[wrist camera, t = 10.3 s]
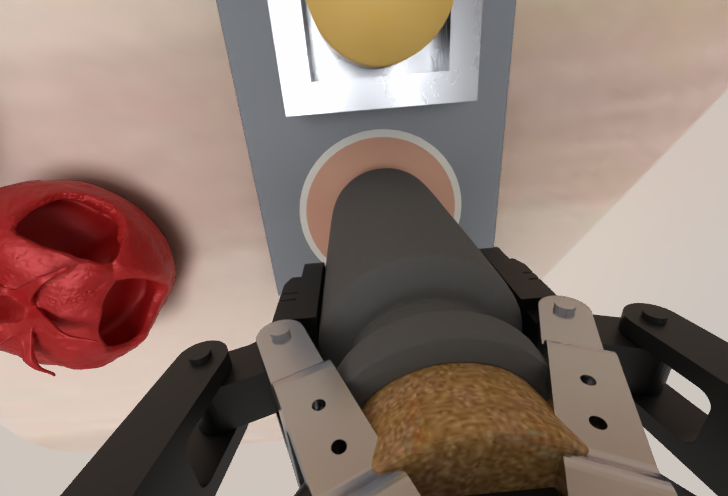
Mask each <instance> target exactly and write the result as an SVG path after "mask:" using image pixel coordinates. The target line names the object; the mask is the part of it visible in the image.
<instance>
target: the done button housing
mask: <svg viewBox="0 0 728 496" xmlns="http://www.w3.org/2000/svg"><path fill="white" fill-rule="evenodd" d="M267 1H268V7H269V14H270V20H271V26H272V32H273V39H274V45H275V51H276V57H277V64H278V70H279V76H280V82H281V89H282V95H283V101H284V107H285V114H286V117H287V116H299V115H311V114H323V113H335V112H347V111H359V110H371V109H383V108H394V107H406V106H418V105H430V104H442V103H454V102H466V101H477V95H478V77H479V60H480V42H481V25H482V8H483V0H454V3H453V6H452V9H451V11H450V13H449V16H448V18H447V19H446V21H445V23H444V25H443V27H442V28H441V29H440V31H439V32H438V34H437V35H436V36H435V37H434V38H433V40H432V41H431V42H430V43H429V44H428V45H427V46H425V47H424V48H423V49H422V50H421V51H419V52H418V53H416V54H415V55H413V56H411V57H409V58H408V59H406V60H404V61H402V62H400V63H398V64H396V65H393V66H390V67H387V68H381V69H368V68H362V67H359V66H355V65H353V64H351V63H349V62H347V61H345V60H344V59H342V58H341V57H339V56H338V55H337V54H336V53H335V52H334V51H333V50H332V49H331V48H330V47H329V46H328V45H327V43H326V42H325V41H324V39H323V38H322V36H321V34H320V32H319V31H318V29H317V27H316V24H315V22H314V20H313V18H312V16H311V13H310V11H309V8H308V6H307V3H306V0H267Z"/></svg>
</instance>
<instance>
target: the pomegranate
mask: <svg viewBox="0 0 728 496" xmlns="http://www.w3.org/2000/svg"><path fill="white" fill-rule="evenodd" d="M175 278H176V276H175V263H174V258H173V255H172V252H171V248H170V246H169V244H168V242H167V241H166V239H165V237H164V235H163V234H162V232H161V231H160V230H159V229H158V228H157V227H156V225H155V224H154V223H153V221H152V220H151V218H149V217H148V216H147V215H146V214H145V213H144V212H143V211H142V210H140V209H139V208H138V207H137V206H136V205H134V204H133V203H131V202H129V201H127V200H126V199H124V198H122V197H120V196H119V195H117V194H115V193H113V192H111V191H108V190H106V189H103V188H100V187H98V186H95V185H92V184H89V183H85V182H80V181H73V180H52V181H41V180H35V181H26V182H21V183H17V184H12V185H9V186H4V187H1V188H0V351H5V352H8V353H10V354H13V355H18V356H19V357H21V358H23V361H24V362H25V363H26V364H27V365H29V366H30V367H32V368H34V369H35V370H38V371H41V372H45V373H48V374H51V375H53V376H55V373H53V372H51V371H48V370H46V369H44V368H42V367H41V366H40V365H39V364H44V365H58V366H64V367H67V368H71V369H80V370H82V369H91V368H99V367H103V366H105V365H106V364H108V363H110V362H112V361H114V360H115V359H117V358H118V357H120V356H123V355H124V354H126V353H127V352H128V351H131V350H132V349H134V348H136V347H137V346H138V345H139V344H140V343H141V342H143V341H144V340H145V339H146V337H147V336H148V334H149V331H150V329H151V328H152V326H153V324H154V322H155V320H156V318H157V316H158V314H159V312H160V310H161V308H162V307H163V305H164V304H165V302H166V301H167V297H168V295H169V293H170V291H171V289H172V287H173V284H174V280H175ZM38 363H39V364H38Z"/></svg>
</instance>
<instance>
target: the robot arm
mask: <svg viewBox="0 0 728 496" xmlns="http://www.w3.org/2000/svg"><path fill="white" fill-rule="evenodd" d="M479 250H480V251H481V252H482V253H483V255H484V256H485V257H486V258H487V260H488V261H489V262H490V263H491V265H492V266H493V267H494V268H495V270H496V271H497V272H498V273H499V275H500V276H501V277H502V279H503V280H504V281H505V283H506V284H507V286H508V287H509V289H510V290H511V292H512V293H513V295H514V297H515V299H516V301H517V304H518V306H519V308H520V312H521V317H522V333H523V334H524V335H525V336H526V337H527V338H529V339H530V340H531V342H532V343H533V344H534V345H535V347H536V348H537V349H538V350H539V351H540V353H541V354H542V355H543V356H544V358H545V359H546V361H547V364H548V369H547V377H546V384H545V388H546V396H547V402H548V404H549V405H550V406H551V408H552V410H553V412H554V414H555V415H556V416H557V417H558V418H559V419H560V420H561V421H562V422H563V423H564V424H565V425H566V426H567V427H568V428H569V429H570V430H571V431H572V432H573V433H574V434H575V435H576V436H577V437H578V438H579V439H580V440H581V441H582V442H583V443H584V444H585V445H586V446H587V447H588V449H589V453H587V454H577V453H570V452H562V453H561V458H560V463H559V466H558V470H557V474H556V478H555V482H554V486H555V487H549V488H539V489H528V490H518V491H507V492H497V493H486V494H476V495H465V496H696V495H694V494H693V493H691V492H689V491H688V490H686V489H685V488H683V487H681V486H680V485H678V484H676V483H675V482H673V481H671V480H669V479H668V478H667V477H665V476H663V475H662V474H660V472H659V470H658V468H657V466H656V463H655V460H654V457H653V454H652V451H651V449H650V446H649V443H648V440H647V437H646V435H645V432H644V429H643V427H644V428H645V429H646V430H647V431H649V432H650V433H651V434H652V435H653V436H654V437H655V438H656V439H657V440H658V441H659V442H661V443H662V444H663V445H664V446H665V447H666V448H667V449H668V450H669V451H671V453H672V454H673V455H675V456H676V457H677V458H678V459H679V460H680V461H681V462H682V463H683V464H684V465H685V466H687V468H689V469H690V470H691V471H692V472H693V473H694V474H695V475H696V476H697V477H698V478H699V479H700V480H701V481H703V482H704V483H705V484H706V485H707V486H708V487H709V488H710V489H711V490H713V492H714V493H715V494H717V495H718V496H728V342H726V341H724V340H722V339H720V338H719V337H717V336H715V335H713V334H712V333H710V332H708V331H706V330H705V329H703V328H701V327H699V326H697V325H696V324H694V323H692V322H690V321H688V320H686V319H685V318H683V317H681V316H679V315H678V314H676V313H674V312H672V311H670V310H668V309H665V308H662V307H660V306H656V305H651V304H645V303H634V304H629V305H627V306H625V307H624V309H623V312H622V315H621V318H620V317H609V316H600V315H593V314H592V311H591V310H590V308H589V307H588V306H587V305H585V304H584V303H582V302H580V301H578V300H576V299H573V298H569V297H565V296H557V295H555V293H554V292H553V291H551V289H550V288H548V286H547V285H545V284H544V283H543V282H542V281H541V280H540V279H538V277H537V276H536V275H535V274H534V273H532V271H531V270H530V269H529V268H528V267H527V266H526V265H525V264H523V263H521V262H519V261H517V260H515V259H513V258H511V259H509V258H508V257H507V256H506V255H505V254H504V253H503V252H502V251H501V250H500V249H499V248H498V247H493V248H482V249H479ZM324 277H325V263H324V262H319V263H308V264H305V265H304V269H303V273H302V277H292V278H291V279H290V280H289V281H288V282H287V283H286V284H285V285H284V287H283V290H282V293H281V294H282V295H281V296H280V299H279V302H278V306H277V309H276V312H275V315H274V318H273V321H272V323H270V324H268V325H267V326H265V327H264V328H263V329H261V330H260V332H259V333H258V335H257V337H256V342H255V343H253V344H251V345H248V346H245V347H242V348H239V349H235V350H232V351H229V352H228V349H227V346H226V345H225V344H224V343H223V342H220V341H205V342H201V343H198V344H196V345H193V346H191V347H189V348H188V349H186V350H185V351H183V352H182V353H181V354H180V355H179V356H178V357H177V358H176V360H175V361H174V362H173V363H172V364H171V365H170V367H169V368H168V369H167V370H166V371H165V373H164V374H163V375H162V376H161V377H160V378H159V380H158V381H157V382H156V383H155V384H154V386H153V387H152V388H151V389H150V390H149V391H148V393H147V394H146V395H145V396H144V397H143V399H142V400H141V401H140V402H139V403H138V404H137V406H136V407H135V408H134V409H133V410H132V412H131V413H130V414H129V415H128V416H127V417H126V419H125V420H124V421H123V422H122V423H121V425H120V426H119V427H118V428H117V429H116V430H115V432H114V433H113V434H112V435H111V436H110V438H109V439H108V440H107V441H106V442H105V443H104V445H103V446H102V447H101V448H100V449H99V450H98V452H97V453H96V454H95V455H94V456H93V458H92V459H91V460H90V461H89V462H88V463H87V465H86V466H85V467H84V468H83V469H82V471H81V472H80V473H79V474H78V476H76V478H75V479H74V480H73V481H72V483H71V484H70V485H69V486H68V487H67V488H66V489H65V491H64V492H63V493H62V494H61V495H60V496H215V495H216V492H217V490H218V488H219V486H220V484H221V482H222V480H223V477H224V476H225V474H226V471H227V469H228V467H229V465H230V463H231V461H232V459H233V456H234V454H235V452H236V450H237V448H238V446H239V444H240V442H241V440H242V437H243V435H244V433H245V431H246V429H247V426H248V423H250V422H253V421H256V420H258V419H261V418H264V417H266V416H269V415H271V414H274V413H275V414H276V417H277V420H278V423H279V426H280V429H281V432H282V435H283V438H284V441H285V444H286V447H287V450H288V453H289V456H290V459H291V463H292V466H293V469H294V472H295V476H296V480H297V483H298V486H299V490H298V491H297V492H296V494H295V495H294V496H421V495H420V494H419V492H418V490H417V489H416V487H415V486H414V484H413V483H412V481H411V479H410V478H409V476H408V475H407V474H406V472H405V471H404V470H403V469H402V468H401V467H396V468H393V469H390V470H386V471H382V472H376V471H373V470H372V459H373V455H374V451H375V447H376V443H377V439H378V436H377V435H376V433H375V432H374V430H373V428H372V427H371V425H370V423H369V422H368V420H367V418H366V417H365V415H364V414H363V412H362V410H361V409H360V407H359V405H358V404H357V402H356V401H355V399H354V397H353V396H352V394H351V392H350V391H349V389H348V387H347V386H346V384H345V383H344V381H343V379H342V378H341V376H340V374H339V373H338V371H337V370H336V368H335V366H334V365H333V363H332V362H331V361H330V360H329V359H328V360H326V361H323V359H322V358H321V356H320V353H319V345H318V340H319V326H320V313H321V304H322V295H323V286H324ZM671 368H672V369H673V370H675V371H676V372H678V373H679V374H681V375H682V376H683V377H685V378H686V379H688V380H689V381H691V382H692V383H693V384H695V385H696V386H698V387H699V388H700V389H701V390H702V391H703V392H704V393H705V394H706V395H707V397H708V399H709V401H710V404H711V410H710V412H709V414H708V415H707V414H706V413H704V412H703V411H701V410H700V409H699V408H697V407H696V406H695V405H694V404H692V403H691V402H690V401H688V400H687V399H686V398H684V397H683V396H682V395H680V394H679V393H678V392H676V391H675V390H674V389H673V388H671V387H670V386H669V385H667V384H666V381H667V378H668V375H669V373H670V370H671Z"/></svg>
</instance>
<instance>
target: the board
mask: <svg viewBox="0 0 728 496" xmlns="http://www.w3.org/2000/svg"><path fill="white" fill-rule="evenodd" d="M216 2H217V6H218V11H219V16H220V21H221V25H222V30H223V35H224V39H225V44H226V49H227V54H228V58H229V63H230V68H231V73H232V77H233V82H234V87H235V91H236V96H237V101H238V106H239V110H240V115H241V120H242V125H243V129H244V134H245V139H246V143H247V148H248V153H249V158H250V162H251V167H252V172H253V177H254V181H255V186H256V191H257V195H258V200H259V205H260V210H261V214H262V219H263V224H264V228H265V233H266V238H267V243H268V247H269V252H270V257H271V262H272V266H273V271H274V276H275V280H276V285H277V290H278V295H282V294H281V293H282V290H283V287H284V285H285V284H286V283H287V282H288V281H289V280H290V279H291V278H292V277H302V273H303V269H304V265H305V264H308V263H319V262H324V263H325V268H326V259H327V251H328V243H329V235H330V227H331V220H332V214H333V209H334V206H335V203H336V200H337V198H338V196H339V194H340V193H341V191H342V190H343V188H344V187H345V186H346V185H347V184H348V183H349V182H350V181H352V180H353V179H354V178H355V177H357V176H359V175H361V174H363V173H365V172H367V171H370V170H374V169H380V168H393V169H399V170H402V171H405V172H407V173H410V174H412V175H413V176H415V177H416V178H418V179H419V180H420V181H421V182H423V183H424V184H425V185H426V186H427V187H428V189H429V190H430V191H431V192H432V193H433V194H434V195H435V197H436V198H437V199H438V200H439V201H440V203H441V204H442V205H443V206H444V207H445V209H446V210H447V211H448V212H449V213H450V215H451V216H452V217H453V218H454V219H455V221H456V222H457V223H458V224H459V225H460V227H461V228H462V229H463V230H464V232H465V233H466V234H467V235H468V236H469V238H470V239H471V240H472V241H473V242H474V244H475V245H476V246H477V247H478V248H479V249H482V248H493V247H494V238H495V227H496V215H497V204H498V193H499V182H500V171H501V160H502V149H503V138H504V127H505V116H506V105H507V94H508V83H509V72H510V61H511V50H512V39H513V28H514V17H515V6H516V0H483V8H482V25H481V42H480V60H479V77H478V95H477V101H466V102H454V103H442V104H430V105H418V106H406V107H394V108H383V109H371V110H359V111H347V112H335V113H323V114H311V115H299V116H287V117H286V114H285V107H284V101H283V95H282V89H281V82H280V76H279V70H278V64H277V57H276V51H275V45H274V39H273V32H272V26H271V20H270V14H269V7H268V1H267V0H216Z"/></svg>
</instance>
